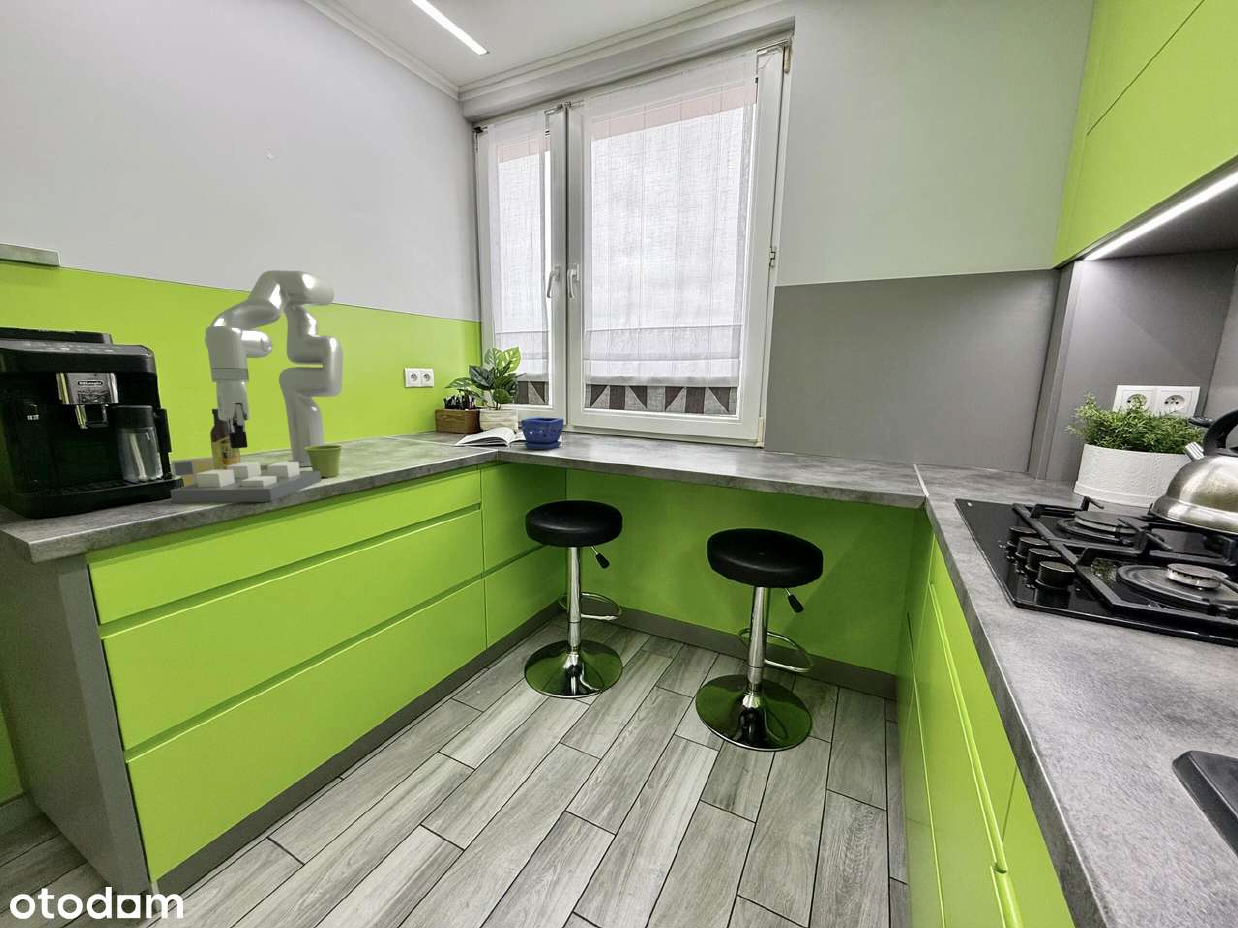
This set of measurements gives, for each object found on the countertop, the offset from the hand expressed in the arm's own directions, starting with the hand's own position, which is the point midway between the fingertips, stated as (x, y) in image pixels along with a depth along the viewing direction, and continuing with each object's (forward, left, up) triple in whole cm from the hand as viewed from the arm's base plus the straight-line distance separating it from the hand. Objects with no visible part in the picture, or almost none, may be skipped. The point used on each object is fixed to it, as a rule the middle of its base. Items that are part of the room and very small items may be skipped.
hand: (239, 447), depth 126 cm
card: (+1, -11, -11) cm, 15 cm away
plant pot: (-14, +14, -11) cm, 22 cm away
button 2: (-1, 0, -8) cm, 9 cm away
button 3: (+9, +10, -10) cm, 17 cm away
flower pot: (-66, +73, -11) cm, 99 cm away
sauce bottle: (-15, -14, -11) cm, 23 cm away
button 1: (+9, 0, -8) cm, 13 cm away
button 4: (-1, +10, -8) cm, 13 cm away
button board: (+4, +5, -11) cm, 13 cm away
